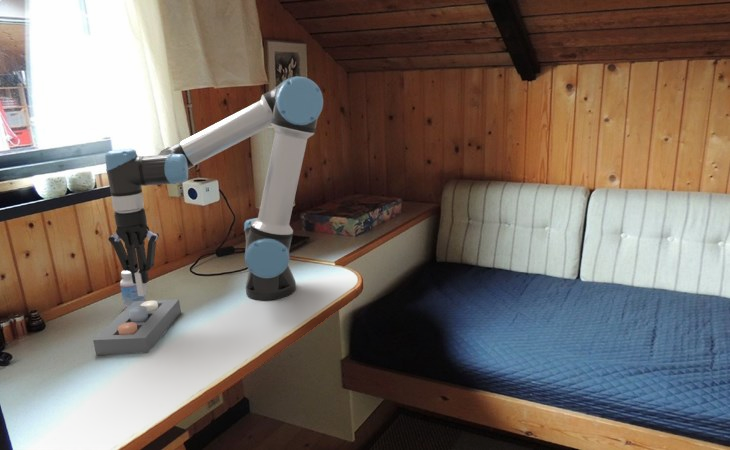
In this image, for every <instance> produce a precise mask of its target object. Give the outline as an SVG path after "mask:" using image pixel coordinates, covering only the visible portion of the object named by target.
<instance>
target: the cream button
mask: <svg viewBox="0 0 730 450" xmlns="http://www.w3.org/2000/svg"><path fill="white" fill-rule="evenodd" d="M141 306H145V307H147V311H156V310H157V309H158V303H157V301H151V300H146V302H144V303H142V304H141Z"/></svg>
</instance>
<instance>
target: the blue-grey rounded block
mask: <svg viewBox="0 0 730 450" xmlns="http://www.w3.org/2000/svg"><path fill="white" fill-rule="evenodd" d="M129 315H130V321H131V322H135V323H137V322H146V321H147V320H148V313H147V307H145V306H137V307H134V308H131V309H130V310H129Z"/></svg>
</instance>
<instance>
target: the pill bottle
mask: <svg viewBox="0 0 730 450" xmlns="http://www.w3.org/2000/svg"><path fill="white" fill-rule="evenodd" d="M120 275H121V276H120V277H121V278H122V279H121V280H120V281H119V286H120V290H121V291H120V292H121V296H122V303H123V307H124V310H125V309H126V308H127V307H128V306H129V305H131V304H132V303H133V302H134V301H147V300H146V294H145V295H144V296H138V292H137V286H136V284H134V283H133V280H132V274H131V272H130V271H124V270H122V271H121V272H120Z"/></svg>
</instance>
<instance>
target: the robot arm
mask: <svg viewBox="0 0 730 450" xmlns="http://www.w3.org/2000/svg"><path fill="white" fill-rule="evenodd" d="M323 96H324V95H323V93H322V90H321V89H320V87H319V85H318V84H317V83H316V82H315V81H313V80H312V79H311V78H307V77H305V76H299V75H296V76H291V77H287V78H285V79H284V80H282V82H280V83H279V84H278V85H277V86H275V87H274V88H272V89H271V90H269V91H268V92H265V93H263V94H262V95H261V97H260V100H258V101H256V102H254V103H252V104H250V105H249V106H247V107H244V108H242V109H240V110H239V111H236V112H235V113H233V114H231V115H229V116H227V117H225V118H224V119H221V120H220V121H217V122H215V123H214V124H212V125H209V126H208V127H206V128H204V129H202V130H200V131H198V132H197V133H194V134H193V135H190V136H189V137H187V138H184V139H182V140H181V141H179V142H177V143H175V144H173V145H171V146H167V147H166V148H164V149H162V150H160V152H159V153H158V154H157V155H147V156H144V155H143V156H141V155H140V156H138V154H137V150H136V149H134V148H133V149H132V148H121V149H113V150H110V151H107V152H106V154H105V157H104V159H105V166H106V167H105V168H106V169H105V170H106V175H107V178H108V179H107V180H108V184H109V189H110V195H111V202H112V210H113V211H115V212H114V213H113V216H114V222H115V226H116V230H115V233H114V234H112V235H111V236H109V237H108V241H109V243H110V244H111V245H112V246H113V248H114V249H113V250H114V251H115V253H116V256H117V258H118V260H119V263H120V265H121V268H122V271H130V272H131V274H132V280H133V283H134V284H136V286H137V292H138V296H144V295H145V296H146V294H148V292H149V291H148V286H147V285H148V284H147V283H148V282H149V279H150V278H149V273H148V271H150V270H151V269H152V268H153V267H155V256H156V248H157V247H156V246H157V240H158V239H159V237H160V235H159V233H157V232H156V233H154V232H152V231H151V230H150V228H149V225H148V224H147V223H148V221H147V214H146V208H144V206H145V201H144V196H143V189H142V187H143V186H144V187H145V186H155V185H156V186H158V185H170V184H172V185H176V184H181V183H185V182H187V181H188V179H189V170H190V168H192V167H194V166H195V165H198V164H200V163H201V162H204V161H206V160H208V159H210V158H211V157H214V156H215V155H217V154H219V153H221V152H223V151H225V150H227V149H229V148H230V147H231V148H232V146H235V145H237V144H239V143H240V142H241V143H242V141H244V140H247V139H248V138H250V137H253V136H254V135H256V134H258V133H261V132H262V131H264V130H266V129H269V128H270V127H272V128H273V129H274V131H275V132H274V137H273V142H272V146H271V147H272V148H271V152H270V157H269V162H268V165H267V172H266V176H265V181H264V187H263V191H262V194H261V195H262V196H261V202H260V206H259V209H258V210H259V211H258V216H257V217H255V218H250V219H246V220H245V222H244V229H243V231H244V233H245V234H244V235H245V250H244V251H245V252H244V262H245V264H246V267H247V269H248V274H247V279H246V283H245V294H246V297H248V298H250V299H253V300H258V301H259V300H260V301H270V300H271V301H272V300H279V299H282V298H285V297H287V296H290V295H292V294H293V293H294V292H295V291H296V290H297V284H296V279H295V276H294V275H293V273H292V270H291V268H290V266H289V262H290V259H291V258H290V248H291V243H292V239H293V234H294V230H293V228H292V227H291V225H290V222H291V216H292V211H293V208H294V202H295V198H296V194H297V193H296V192H297V188H298V184H299V180H300V175H301V170H302V166H303V161H304V157H305V152H306V147H307V142H308V139H309V138H310V137H312V136H314V135H315V132H316V128H317V124H318V121H319V120H318V118H319V116H320V115H321V112H322V111H323V107H324V97H323ZM146 238H147V241H148V242H147V247H146V248H147V249H145V245H146V244H145V243H146V242H145V240H146ZM123 243H124V245H123Z"/></svg>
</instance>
